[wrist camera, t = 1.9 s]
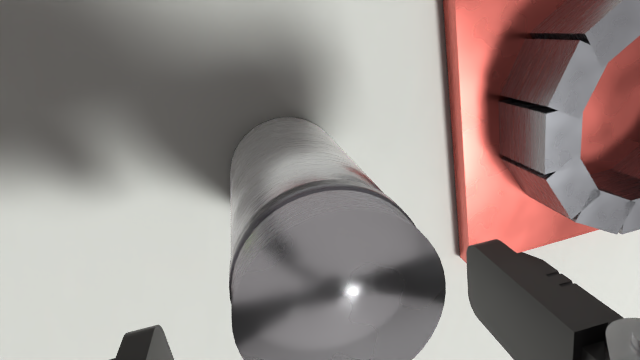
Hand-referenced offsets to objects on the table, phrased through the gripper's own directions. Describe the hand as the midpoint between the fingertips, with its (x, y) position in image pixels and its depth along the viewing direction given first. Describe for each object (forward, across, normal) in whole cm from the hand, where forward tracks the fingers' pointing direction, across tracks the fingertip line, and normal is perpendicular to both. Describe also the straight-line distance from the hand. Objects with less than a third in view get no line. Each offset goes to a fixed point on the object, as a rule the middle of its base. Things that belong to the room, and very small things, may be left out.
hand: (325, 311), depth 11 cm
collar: (+9, -15, -1) cm, 18 cm away
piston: (+9, 0, -1) cm, 9 cm away
